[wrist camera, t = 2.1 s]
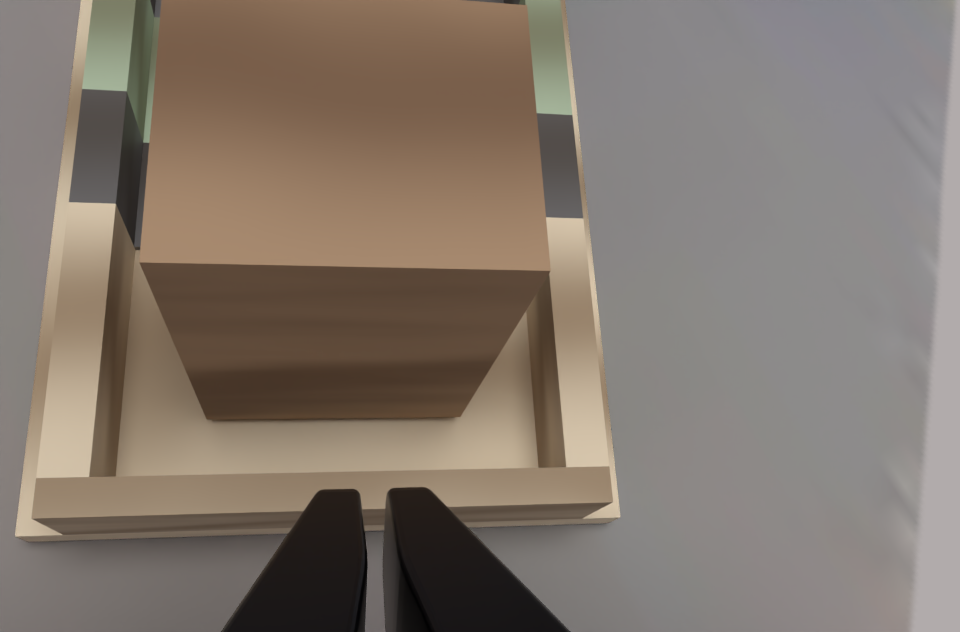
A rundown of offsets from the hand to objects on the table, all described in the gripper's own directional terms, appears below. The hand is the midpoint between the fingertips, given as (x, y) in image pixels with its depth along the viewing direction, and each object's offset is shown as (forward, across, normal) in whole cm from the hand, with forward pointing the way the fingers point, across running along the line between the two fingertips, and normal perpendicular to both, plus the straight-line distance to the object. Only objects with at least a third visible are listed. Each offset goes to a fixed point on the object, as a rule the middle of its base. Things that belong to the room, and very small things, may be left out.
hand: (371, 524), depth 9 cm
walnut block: (+13, 0, +4) cm, 14 cm away
